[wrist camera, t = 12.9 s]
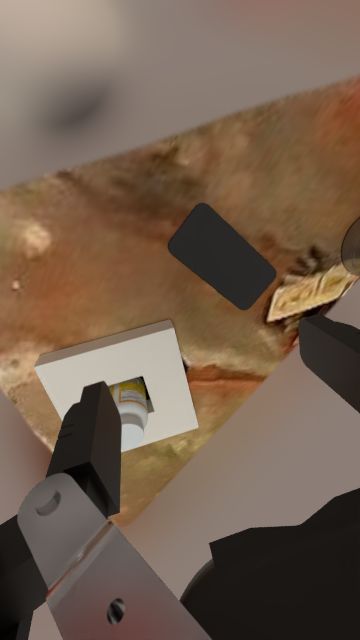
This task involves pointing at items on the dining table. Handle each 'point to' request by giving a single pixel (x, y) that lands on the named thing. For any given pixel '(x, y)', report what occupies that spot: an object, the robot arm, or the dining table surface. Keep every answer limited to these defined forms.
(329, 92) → the dining table surface
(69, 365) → the socket block
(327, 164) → the dining table surface
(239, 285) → the phone
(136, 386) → the supplement bottle
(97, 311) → the dining table surface
